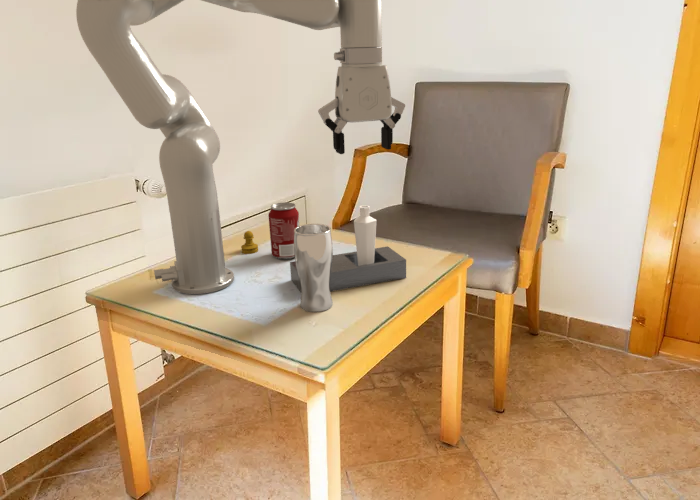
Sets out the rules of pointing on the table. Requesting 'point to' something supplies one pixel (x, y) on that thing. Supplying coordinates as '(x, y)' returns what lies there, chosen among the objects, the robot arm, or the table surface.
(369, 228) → the perfume bottle
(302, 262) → the beer glass
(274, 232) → the soda can
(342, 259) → the grey block with hole
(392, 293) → the table surface
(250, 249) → the chess piece
